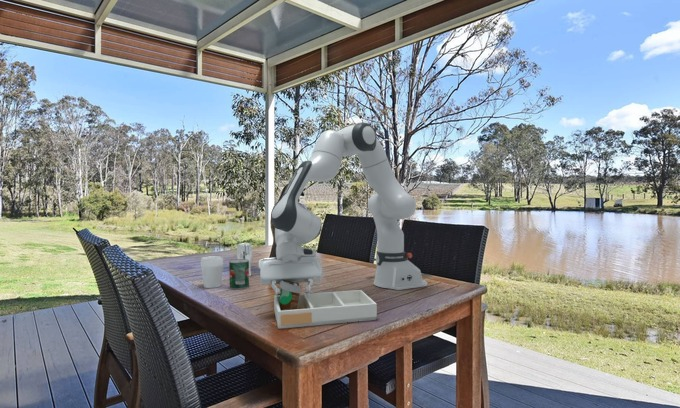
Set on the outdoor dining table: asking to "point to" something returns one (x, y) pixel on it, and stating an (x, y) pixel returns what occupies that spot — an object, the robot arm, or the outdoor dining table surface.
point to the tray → (327, 309)
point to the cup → (212, 271)
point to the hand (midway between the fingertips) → (293, 293)
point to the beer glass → (245, 253)
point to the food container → (289, 295)
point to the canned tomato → (239, 273)
